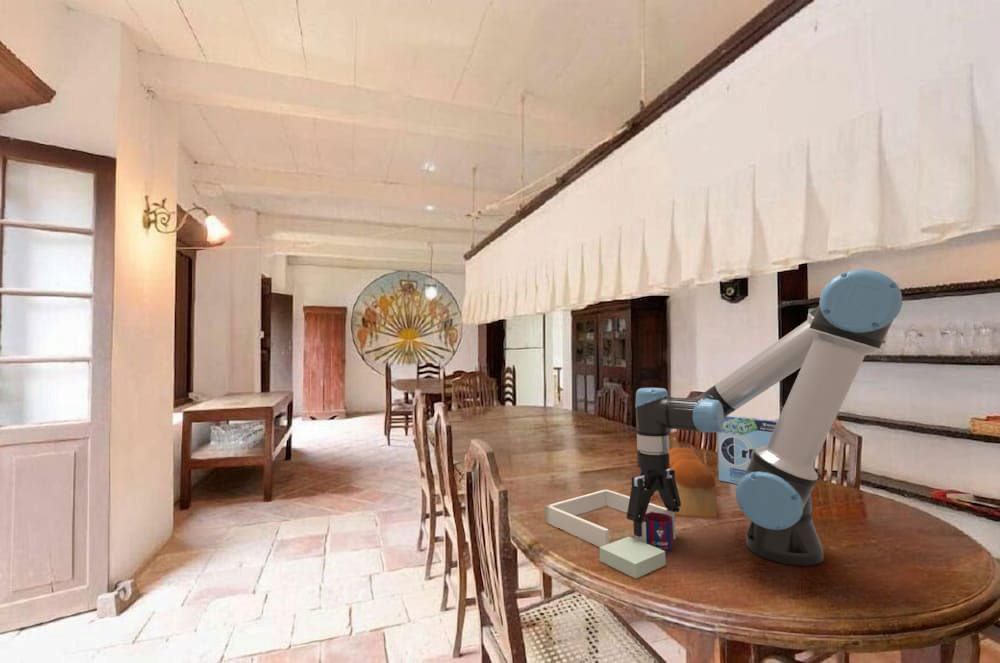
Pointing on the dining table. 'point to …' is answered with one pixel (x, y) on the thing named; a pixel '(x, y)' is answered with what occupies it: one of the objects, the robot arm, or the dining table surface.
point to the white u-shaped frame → (588, 531)
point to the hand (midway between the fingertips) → (655, 543)
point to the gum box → (740, 444)
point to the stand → (632, 557)
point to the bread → (693, 484)
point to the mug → (659, 530)
